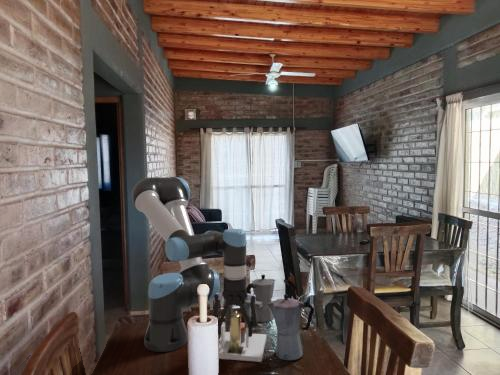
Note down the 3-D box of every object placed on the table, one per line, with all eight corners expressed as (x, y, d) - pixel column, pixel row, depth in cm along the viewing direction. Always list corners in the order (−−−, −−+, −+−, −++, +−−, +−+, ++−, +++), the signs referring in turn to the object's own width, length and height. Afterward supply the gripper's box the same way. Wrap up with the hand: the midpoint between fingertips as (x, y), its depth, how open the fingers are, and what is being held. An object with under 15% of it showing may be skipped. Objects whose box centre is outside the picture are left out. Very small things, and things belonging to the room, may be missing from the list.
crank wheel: (264, 341, 123) (264, 299, 122) (257, 349, 117) (257, 305, 117) (230, 333, 129) (229, 293, 128) (221, 340, 124) (221, 299, 123)
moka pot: (268, 345, 123) (268, 288, 123) (313, 349, 121) (314, 291, 120) (265, 360, 114) (265, 298, 113) (314, 364, 112) (314, 301, 111)
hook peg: (229, 356, 116) (228, 315, 116) (231, 350, 120) (231, 310, 119) (239, 357, 116) (239, 315, 115) (241, 351, 119) (241, 311, 119)
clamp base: (212, 358, 115) (212, 353, 115) (223, 335, 131) (223, 331, 131) (261, 361, 113) (261, 357, 113) (266, 338, 129) (266, 334, 129)
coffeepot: (267, 310, 155) (267, 269, 154) (282, 316, 148) (282, 274, 147) (239, 319, 145) (239, 276, 145) (254, 327, 138) (254, 281, 137)
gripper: (267, 274, 119) (267, 341, 120) (207, 272, 122) (208, 337, 123) (264, 281, 111) (264, 352, 112) (201, 278, 114) (202, 348, 115)
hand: (235, 344), depth 118 cm, fingers open, 8 cm apart
